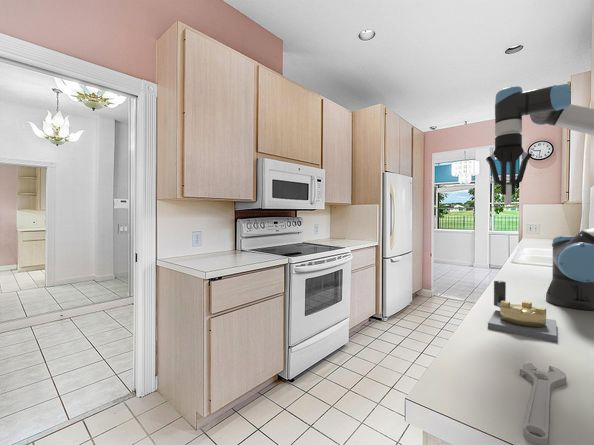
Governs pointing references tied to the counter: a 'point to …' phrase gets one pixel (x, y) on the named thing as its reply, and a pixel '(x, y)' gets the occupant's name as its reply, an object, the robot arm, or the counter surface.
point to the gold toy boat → (517, 309)
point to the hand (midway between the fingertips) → (507, 204)
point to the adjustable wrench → (540, 401)
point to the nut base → (524, 328)
